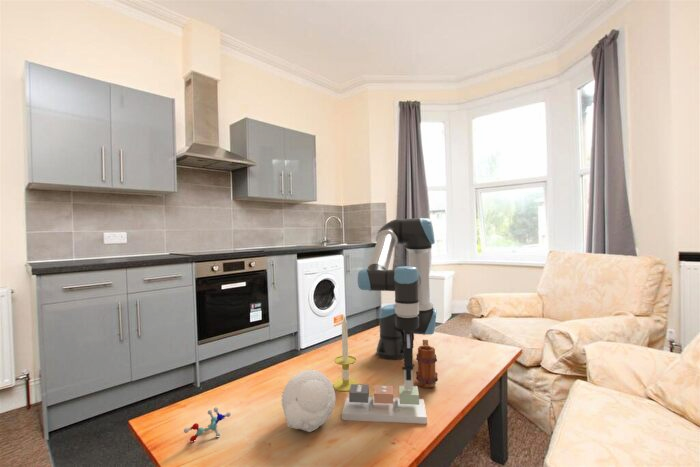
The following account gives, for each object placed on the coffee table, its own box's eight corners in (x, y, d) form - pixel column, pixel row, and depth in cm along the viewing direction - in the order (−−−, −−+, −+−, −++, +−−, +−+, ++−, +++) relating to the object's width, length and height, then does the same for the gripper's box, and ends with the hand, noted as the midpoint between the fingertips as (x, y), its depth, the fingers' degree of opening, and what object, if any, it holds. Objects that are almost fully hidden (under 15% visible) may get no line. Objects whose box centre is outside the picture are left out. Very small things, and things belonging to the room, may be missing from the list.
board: (346, 402, 114) (346, 392, 114) (423, 405, 111) (423, 395, 111) (342, 419, 103) (342, 409, 103) (427, 423, 100) (426, 413, 100)
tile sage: (399, 394, 110) (399, 385, 110) (417, 395, 109) (417, 385, 109) (399, 404, 104) (399, 393, 104) (419, 404, 103) (419, 394, 103)
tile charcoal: (351, 393, 112) (351, 383, 112) (369, 393, 111) (369, 384, 111) (349, 402, 106) (349, 392, 106) (368, 402, 105) (367, 392, 105)
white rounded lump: (326, 403, 114) (325, 357, 114) (354, 428, 99) (353, 374, 99) (270, 422, 103) (268, 371, 103) (292, 453, 88) (290, 393, 88)
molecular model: (197, 412, 103) (208, 390, 100) (224, 425, 104) (236, 404, 101) (175, 446, 92) (187, 422, 89) (207, 460, 93) (219, 437, 90)
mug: (438, 391, 120) (437, 350, 120) (416, 390, 122) (415, 349, 122) (436, 374, 135) (435, 337, 135) (416, 373, 136) (415, 337, 136)
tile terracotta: (375, 393, 111) (374, 384, 111) (393, 394, 110) (393, 385, 110) (374, 403, 105) (374, 393, 105) (393, 403, 104) (393, 393, 104)
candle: (346, 377, 134) (344, 310, 134) (364, 385, 127) (362, 314, 127) (327, 385, 127) (325, 315, 127) (345, 394, 120) (343, 320, 120)
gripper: (394, 310, 113) (396, 379, 113) (395, 319, 100) (397, 397, 100) (417, 310, 112) (418, 380, 112) (420, 320, 100) (422, 398, 99)
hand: (408, 388), depth 106 cm, fingers closed
